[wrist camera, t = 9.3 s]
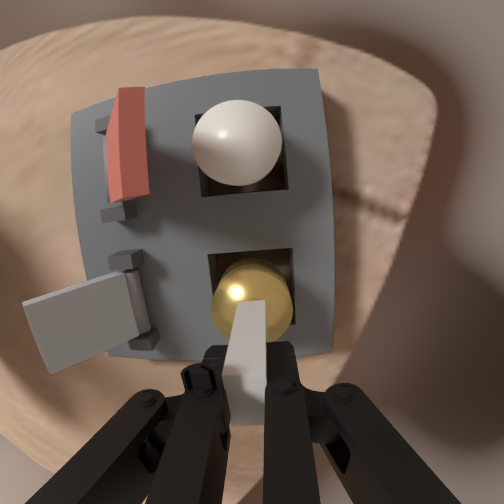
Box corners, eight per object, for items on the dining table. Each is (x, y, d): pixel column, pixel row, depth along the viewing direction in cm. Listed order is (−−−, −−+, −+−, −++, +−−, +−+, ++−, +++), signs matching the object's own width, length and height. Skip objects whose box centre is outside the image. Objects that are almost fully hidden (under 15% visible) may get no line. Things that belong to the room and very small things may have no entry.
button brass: (223, 323, 21) (216, 347, 17) (215, 260, 20) (205, 275, 16) (289, 319, 20) (293, 343, 17) (286, 255, 19) (291, 269, 16)
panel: (122, 340, 25) (100, 367, 20) (89, 119, 20) (57, 109, 15) (325, 334, 24) (337, 366, 19) (310, 82, 19) (323, 57, 14)
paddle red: (106, 204, 18) (118, 198, 10) (102, 139, 17) (114, 88, 9) (126, 200, 19) (154, 193, 11) (122, 136, 18) (149, 86, 10)
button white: (207, 189, 18) (195, 189, 15) (201, 120, 17) (189, 106, 14) (280, 183, 18) (285, 181, 15) (274, 112, 17) (277, 96, 14)
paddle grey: (144, 324, 21) (45, 366, 14) (132, 265, 20) (21, 301, 13) (155, 329, 20) (50, 376, 13) (141, 268, 19) (23, 307, 12)
